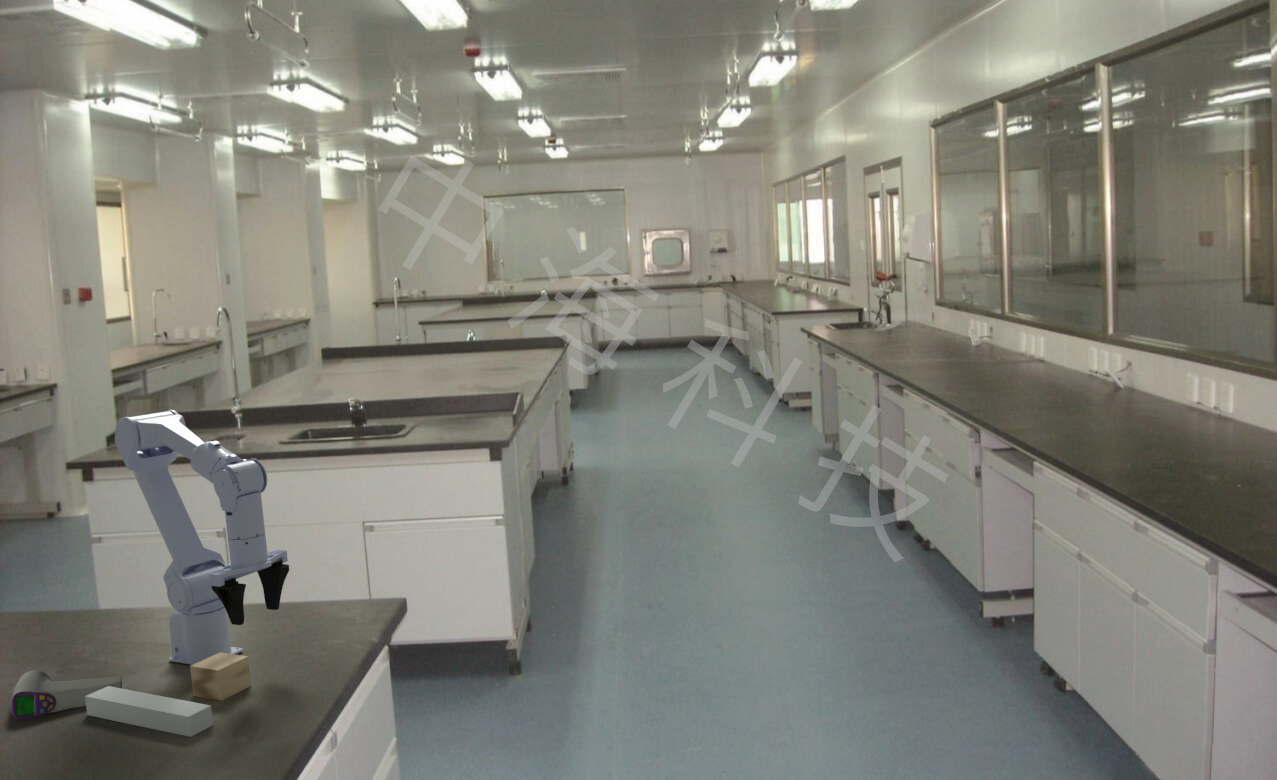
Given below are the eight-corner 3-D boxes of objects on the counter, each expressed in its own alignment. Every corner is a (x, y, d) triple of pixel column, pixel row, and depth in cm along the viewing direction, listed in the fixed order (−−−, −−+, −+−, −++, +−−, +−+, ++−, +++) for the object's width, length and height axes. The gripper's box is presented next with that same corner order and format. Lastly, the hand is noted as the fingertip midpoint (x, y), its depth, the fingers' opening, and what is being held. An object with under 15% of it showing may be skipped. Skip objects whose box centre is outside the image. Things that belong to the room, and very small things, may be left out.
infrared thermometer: (122, 707, 164) (11, 724, 157) (120, 681, 174) (16, 696, 167) (121, 678, 163) (10, 694, 156) (119, 654, 174) (15, 668, 167)
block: (193, 696, 163) (190, 665, 163) (223, 681, 169) (220, 652, 168) (221, 701, 161) (218, 670, 160) (251, 686, 166) (248, 656, 165)
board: (87, 715, 158) (85, 696, 157) (110, 704, 161) (108, 686, 161) (190, 736, 148) (188, 716, 148) (213, 725, 152) (210, 705, 151)
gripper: (229, 548, 161) (239, 633, 162) (297, 525, 174) (306, 604, 175) (196, 546, 164) (206, 629, 165) (266, 523, 177) (274, 601, 178)
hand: (255, 616), depth 171 cm, fingers open, 7 cm apart
